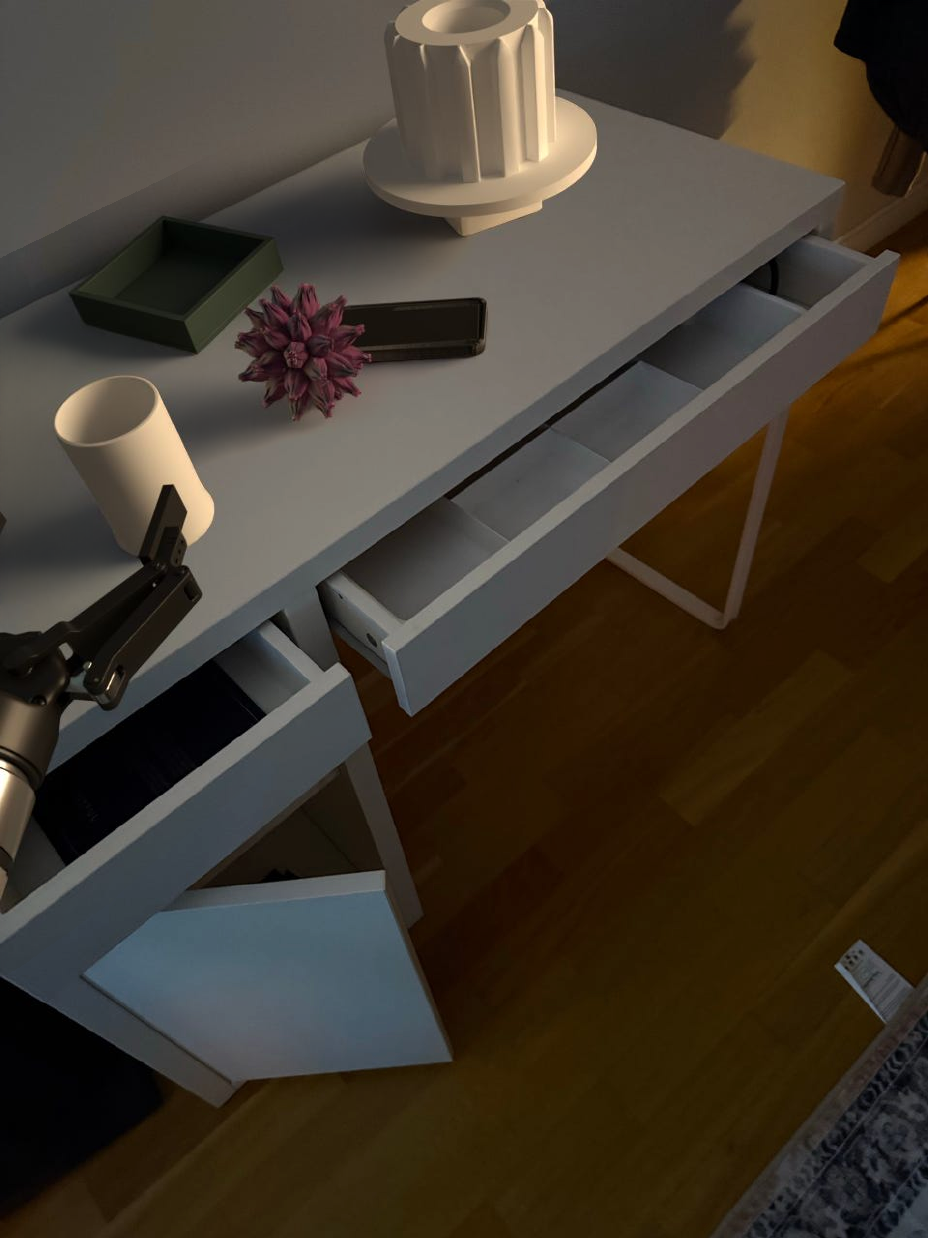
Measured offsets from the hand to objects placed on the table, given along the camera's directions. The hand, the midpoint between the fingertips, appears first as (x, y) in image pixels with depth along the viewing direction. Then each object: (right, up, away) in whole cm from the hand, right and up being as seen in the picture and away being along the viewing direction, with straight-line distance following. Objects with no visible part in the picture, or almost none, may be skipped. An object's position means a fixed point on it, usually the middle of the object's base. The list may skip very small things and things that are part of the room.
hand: (83, 502), depth 63 cm
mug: (+2, +1, +14) cm, 14 cm away
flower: (+13, +12, +20) cm, 27 cm away
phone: (+21, +20, +25) cm, 38 cm away
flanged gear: (+29, +38, +39) cm, 62 cm away
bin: (-3, +26, +34) cm, 43 cm away
